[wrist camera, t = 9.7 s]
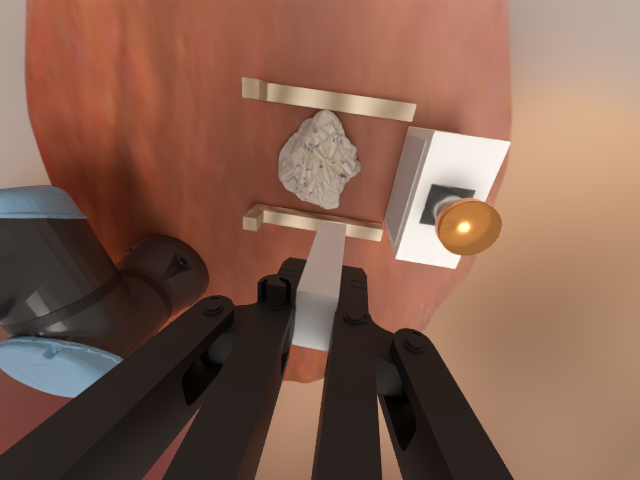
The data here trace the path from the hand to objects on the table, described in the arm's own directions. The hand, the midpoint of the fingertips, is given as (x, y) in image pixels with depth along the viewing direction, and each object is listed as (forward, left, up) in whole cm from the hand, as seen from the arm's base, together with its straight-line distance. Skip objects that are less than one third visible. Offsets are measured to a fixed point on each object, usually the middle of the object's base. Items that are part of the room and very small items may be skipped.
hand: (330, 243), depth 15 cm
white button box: (+11, 0, -25) cm, 28 cm away
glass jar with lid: (+11, 0, -16) cm, 19 cm away
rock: (-4, 0, -26) cm, 26 cm away
